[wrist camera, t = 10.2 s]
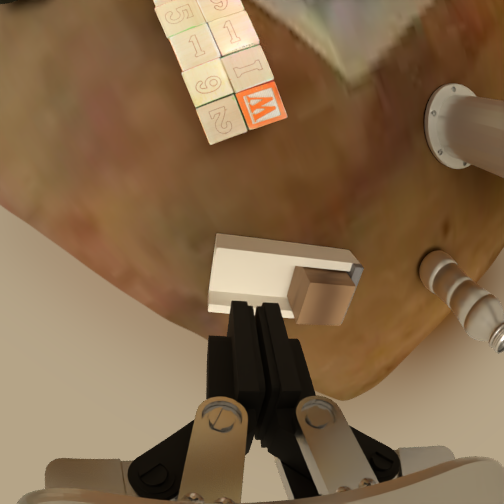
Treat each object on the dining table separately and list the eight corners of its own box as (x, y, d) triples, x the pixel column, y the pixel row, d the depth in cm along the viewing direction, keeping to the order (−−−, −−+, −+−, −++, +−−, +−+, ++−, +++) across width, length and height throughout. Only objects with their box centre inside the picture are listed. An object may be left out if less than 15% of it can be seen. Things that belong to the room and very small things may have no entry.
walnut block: (339, 262, 41) (356, 286, 35) (326, 298, 43) (340, 325, 38) (297, 257, 40) (310, 282, 34) (286, 295, 42) (296, 323, 37)
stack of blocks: (149, -21, 23) (122, -66, 12) (201, -39, 22) (196, -92, 11) (211, 133, 33) (209, 147, 22) (264, 113, 32) (289, 118, 21)
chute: (349, 249, 41) (363, 268, 37) (330, 303, 45) (341, 324, 41) (216, 233, 38) (216, 251, 34) (208, 293, 42) (207, 316, 37)
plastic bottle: (441, 238, 42) (525, 310, 25) (447, 268, 45) (519, 341, 28) (410, 258, 43) (489, 342, 26) (418, 288, 46) (486, 370, 29)
